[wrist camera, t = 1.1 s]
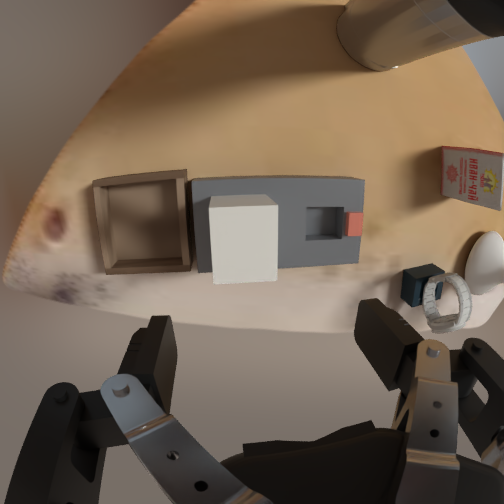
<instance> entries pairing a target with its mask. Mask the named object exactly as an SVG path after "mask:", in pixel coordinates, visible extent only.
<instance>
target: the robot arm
mask: <svg viewBox="0 0 504 504" xmlns="http://www.w3.org/2000/svg"><path fill="white" fill-rule="evenodd" d="M337 34H338V37H339V40H340V42H341V44H342V46H343V47H344V49H345V50H346V51H347V53H348V54H349V55H350V56H351V57H352V58H353V59H354V60H356V61H357V62H359V63H360V64H361V65H363V66H365V67H367V68H370V69H373V70H377V71H388V70H390V69H393V68H397V67H399V66H401V65H404V64H407V63H410V62H413V61H415V60H418V59H421V58H424V57H427V56H430V55H433V54H436V53H439V52H442V51H446V50H449V49H452V48H456V47H459V46H463V45H467V44H470V43H474V42H478V41H481V40H486V39H490V38H494V37H499V36H504V0H350V1H349V2H348V3H347V4H346V5H345V12H344V13H343V14H342V15H341V16H340V17H339V19H338V22H337ZM354 337H355V341H356V343H357V345H358V346H359V348H360V349H361V351H362V352H363V353H364V355H365V356H366V358H367V359H368V361H369V362H370V364H371V365H372V367H373V368H374V370H375V371H376V373H377V374H378V376H379V377H380V379H381V380H382V382H383V383H384V385H385V386H386V388H387V389H388V391H391V390H395V389H398V388H400V390H401V392H400V394H399V397H398V401H397V405H396V410H395V414H394V418H393V422H392V426H391V429H388V428H375V426H374V424H373V422H372V421H371V420H370V421H367V422H363V423H360V424H356V425H352V426H348V427H344V428H341V429H340V430H338V431H335V432H333V433H331V434H329V435H327V436H325V437H322V438H320V439H318V440H315V441H310V442H307V441H306V442H305V441H304V442H303V441H280V440H275V441H267V442H258V443H247V444H243V453H240V454H237V455H234V456H232V457H229V458H228V459H225V460H223V461H221V462H220V463H219V462H218V461H217V460H216V459H215V458H214V457H213V456H212V455H211V454H210V453H209V452H208V451H207V450H205V448H203V447H202V446H201V445H200V444H199V442H197V441H196V439H195V438H193V436H192V435H191V434H190V433H189V432H188V431H187V430H186V429H185V428H184V427H183V426H182V425H181V424H180V423H179V422H178V420H177V419H176V418H175V417H174V416H173V415H171V414H169V413H170V406H171V398H172V391H173V384H174V378H175V371H176V365H177V346H176V341H175V336H174V331H173V325H172V320H171V317H170V315H165V316H152V317H151V319H150V322H149V325H148V327H147V328H140V329H139V330H138V331H136V332H135V333H134V334H133V336H132V338H131V340H130V343H129V345H128V348H127V352H126V353H125V355H124V358H123V360H122V363H121V366H120V368H119V371H118V373H117V375H114V376H112V377H110V378H108V379H107V380H106V381H105V382H104V383H103V384H102V386H101V389H100V390H96V391H90V392H84V393H79V391H78V389H77V388H76V386H75V385H73V384H71V383H66V382H62V383H57V384H55V385H53V386H51V387H50V388H49V389H48V390H47V391H46V393H45V394H44V396H43V399H42V401H41V403H40V405H39V407H38V410H37V412H36V414H35V416H34V419H33V421H32V424H31V426H30V428H29V431H28V433H27V436H26V438H25V441H24V443H23V446H22V449H21V451H20V454H19V457H18V460H17V463H16V465H15V469H14V471H13V475H12V478H11V481H10V484H9V488H8V492H7V495H6V499H5V503H4V504H98V501H99V493H100V487H101V480H102V473H103V467H104V461H105V455H106V450H107V447H113V446H119V445H126V444H129V445H130V447H131V449H132V450H133V451H134V453H135V455H136V456H137V457H138V459H139V460H140V462H141V463H142V465H143V466H144V467H145V469H146V470H147V472H148V473H149V474H150V476H151V477H152V478H153V479H154V481H155V482H156V483H157V485H158V486H159V487H160V489H161V490H162V491H163V492H164V494H165V495H166V496H167V497H168V499H169V500H170V501H171V502H172V503H173V504H504V360H503V359H502V358H501V357H500V356H499V355H498V354H497V353H496V352H495V351H494V350H493V349H492V348H491V347H490V346H489V345H488V344H487V343H486V342H484V341H483V340H481V339H478V338H468V339H466V340H465V341H464V344H463V346H462V349H459V350H449V349H448V348H447V346H446V345H445V344H443V343H442V342H439V341H437V340H431V339H428V340H424V339H423V338H422V336H420V334H419V333H418V332H417V331H416V330H415V329H414V328H413V327H412V326H411V325H409V323H408V322H407V321H406V320H404V319H403V317H402V316H401V315H400V314H398V313H397V312H396V311H394V310H392V309H390V308H388V307H386V306H385V305H384V304H383V303H382V302H381V301H380V300H379V299H377V298H374V299H367V300H361V301H360V303H359V306H358V312H357V318H356V323H355V329H354ZM477 380H479V381H480V382H481V383H482V385H483V386H484V387H485V388H486V390H487V391H488V394H489V398H488V401H487V403H486V405H485V404H484V403H483V402H482V400H481V399H480V398H479V397H478V395H477V394H476V393H475V392H474V390H473V387H474V385H475V384H476V382H477ZM458 423H459V424H460V426H461V428H462V429H463V431H464V432H465V434H466V435H467V437H468V438H469V440H470V441H471V443H472V445H473V446H474V448H475V449H476V451H477V452H478V454H479V456H480V458H481V463H480V462H478V461H475V460H471V459H469V458H466V457H463V456H461V455H458V454H456V449H457V434H458Z"/></svg>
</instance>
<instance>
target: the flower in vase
mask: <svg viewBox="0 0 504 504" xmlns="http://www.w3.org/2000/svg"><path fill="white" fill-rule="evenodd" d="M465 282H466V283H467V286H468V287H469V290H470V293H471V294H473V295H482V294H484V293H486V292H488V291H490V290H491V289H493V288H494V287H495V286H497V285H498V284H500V283H504V241H503V239H502V237H501V236H500V235H499V234H498V233H497V232H495V231H489V232H487V233H485V234H483V235H482V236H481V237H480V238H479V239H478V240H477V241H476V243H475V244H474V246H473V248H472V250H471V252H470V254H469V257H468V260H467V263H466V268H465Z"/></svg>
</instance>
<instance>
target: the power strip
mask: <svg viewBox="0 0 504 504" xmlns="http://www.w3.org/2000/svg"><path fill="white" fill-rule="evenodd" d="M364 186H365V180H362V179H358V178H353V177H341V176H299V175H273V176H230V177H208V178H195V179H194V180H192V198H193V215H194V229H195V243H196V255H197V266H198V273H206V272H213V269H212V254H211V239H210V221H209V205H210V200H211V196H227V195H255V194H266V195H267V196H268V197H269V198H270V199H272V200H273V201H274V202H275V203H276V204H277V205H278V268H294V267H310V266H324V265H339V264H353V263H358V260H359V251H360V242H361V236H362V225H363V205H364ZM278 268H277V269H278Z"/></svg>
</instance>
